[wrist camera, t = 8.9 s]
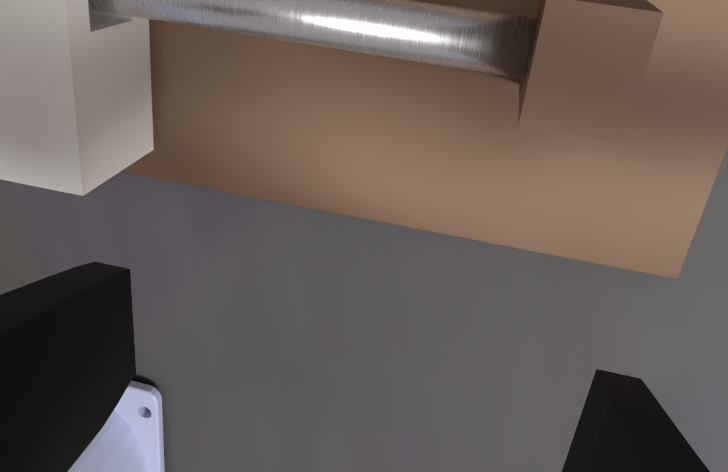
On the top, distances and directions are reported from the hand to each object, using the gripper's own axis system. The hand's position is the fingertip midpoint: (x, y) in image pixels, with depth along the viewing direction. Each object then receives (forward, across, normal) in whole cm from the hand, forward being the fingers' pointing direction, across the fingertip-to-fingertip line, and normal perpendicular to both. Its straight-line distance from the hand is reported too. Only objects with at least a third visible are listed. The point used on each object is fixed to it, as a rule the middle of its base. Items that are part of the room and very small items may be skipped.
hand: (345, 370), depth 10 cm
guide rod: (+7, +7, -4) cm, 10 cm away
